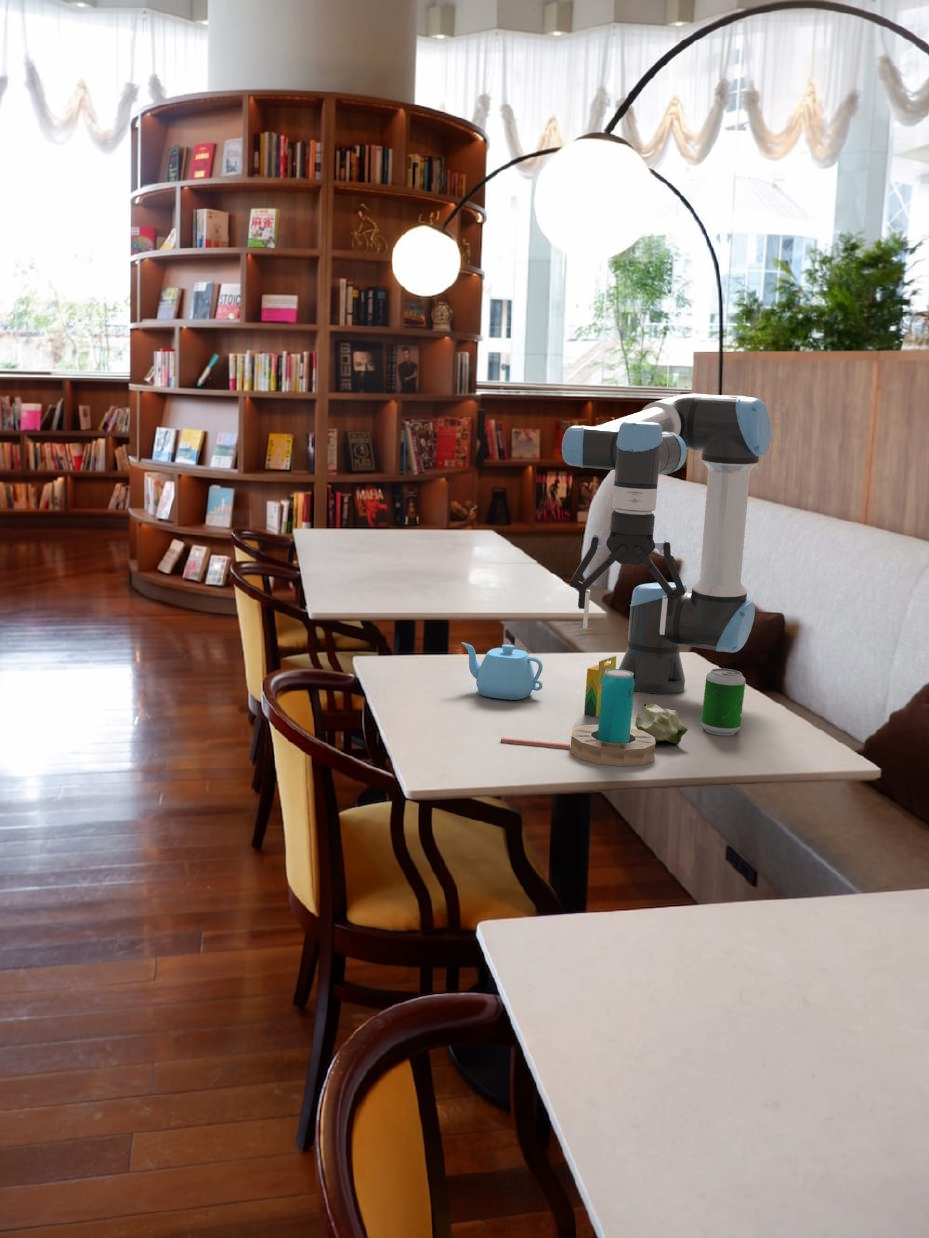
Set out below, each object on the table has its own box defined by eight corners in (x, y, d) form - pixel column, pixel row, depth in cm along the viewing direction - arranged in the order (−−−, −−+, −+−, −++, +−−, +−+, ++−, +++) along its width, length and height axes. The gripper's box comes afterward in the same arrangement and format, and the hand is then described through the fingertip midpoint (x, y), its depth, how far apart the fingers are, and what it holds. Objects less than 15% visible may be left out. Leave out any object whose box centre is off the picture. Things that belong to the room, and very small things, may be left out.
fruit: (628, 741, 229) (634, 699, 229) (676, 747, 229) (682, 706, 229) (637, 746, 219) (643, 703, 219) (687, 753, 220) (693, 710, 220)
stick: (501, 740, 219) (501, 737, 219) (569, 747, 218) (569, 744, 218) (500, 742, 218) (500, 739, 218) (569, 748, 217) (569, 745, 217)
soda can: (740, 738, 230) (746, 678, 228) (700, 734, 232) (706, 674, 229) (739, 728, 237) (745, 669, 235) (700, 723, 239) (706, 665, 236)
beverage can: (630, 750, 218) (638, 671, 215) (624, 759, 213) (631, 678, 210) (600, 745, 220) (607, 666, 217) (593, 754, 215) (599, 673, 212)
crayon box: (600, 708, 246) (605, 653, 244) (613, 711, 244) (618, 655, 242) (582, 715, 240) (587, 658, 238) (595, 718, 238) (600, 661, 236)
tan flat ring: (572, 736, 225) (573, 721, 224) (652, 744, 223) (654, 728, 222) (568, 760, 210) (570, 744, 209) (654, 769, 208) (656, 752, 208)
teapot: (468, 634, 258) (550, 643, 254) (465, 682, 260) (546, 692, 256) (453, 645, 246) (539, 655, 242) (450, 695, 248) (535, 706, 244)
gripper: (560, 508, 206) (552, 628, 210) (707, 518, 203) (695, 640, 207) (563, 504, 213) (554, 620, 217) (704, 513, 210) (693, 631, 214)
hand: (623, 630), depth 212 cm, fingers open, 13 cm apart
